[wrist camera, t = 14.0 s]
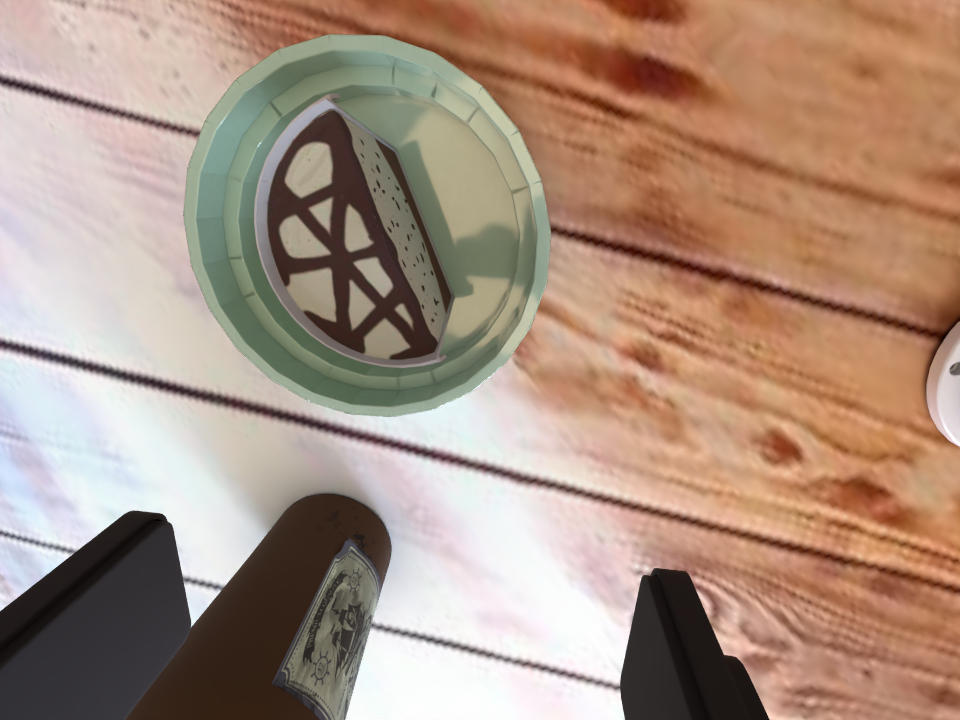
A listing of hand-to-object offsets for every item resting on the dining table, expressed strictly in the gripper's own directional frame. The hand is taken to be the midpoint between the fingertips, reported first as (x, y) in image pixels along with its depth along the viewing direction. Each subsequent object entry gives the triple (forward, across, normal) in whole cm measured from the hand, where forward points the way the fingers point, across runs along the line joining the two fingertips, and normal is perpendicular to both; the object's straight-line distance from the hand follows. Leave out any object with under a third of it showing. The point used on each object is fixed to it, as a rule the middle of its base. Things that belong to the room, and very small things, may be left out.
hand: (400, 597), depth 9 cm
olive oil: (+23, +11, +20) cm, 32 cm away
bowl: (+23, +7, -5) cm, 24 cm away
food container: (+23, +7, -4) cm, 24 cm away
